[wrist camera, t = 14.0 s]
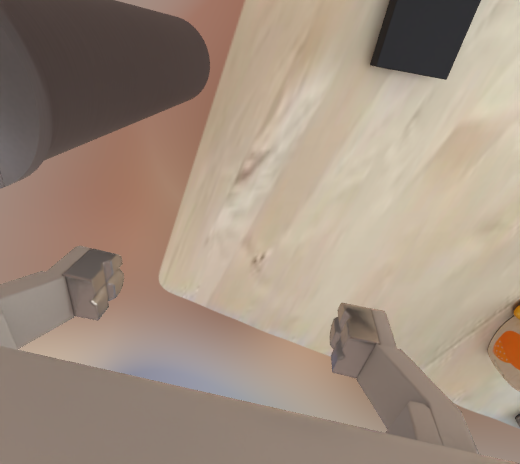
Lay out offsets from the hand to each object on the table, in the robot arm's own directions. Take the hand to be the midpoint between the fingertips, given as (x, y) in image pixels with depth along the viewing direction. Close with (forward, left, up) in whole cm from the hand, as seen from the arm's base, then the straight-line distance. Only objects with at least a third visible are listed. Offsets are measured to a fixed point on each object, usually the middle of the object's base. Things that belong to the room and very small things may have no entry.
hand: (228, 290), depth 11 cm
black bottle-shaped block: (+10, +13, -25) cm, 30 cm away
